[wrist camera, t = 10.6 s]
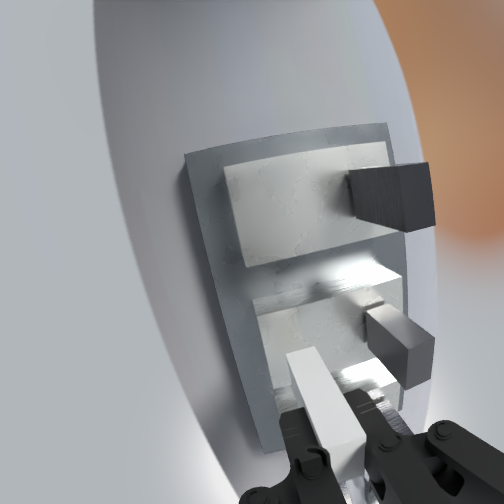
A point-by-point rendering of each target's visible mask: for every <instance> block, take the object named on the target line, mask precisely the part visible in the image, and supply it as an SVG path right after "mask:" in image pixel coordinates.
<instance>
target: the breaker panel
mask: <svg viewBox="0 0 504 504" xmlns="http://www.w3.org/2000/svg"><path fill="white" fill-rule="evenodd" d="M184 156H185V161H186V166H187V170H188V175H189V180H190V184H191V189H192V193H193V198H194V202H195V206H196V211H197V215H198V219H199V224H200V228H201V232H202V236H203V240H204V245H205V249H206V253H207V257H208V261H209V265H210V269H211V273H212V277H213V280H214V284H215V288H216V292H217V296H218V300H219V303H220V307H221V311H222V315H223V318H224V322H225V326H226V329H227V333H228V336H229V340H230V344H231V347H232V351H233V354H234V358H235V361H236V364H237V368H238V371H239V375H240V378H241V381H242V385H243V388H244V391H245V395H246V398H247V401H248V405H249V408H250V411H251V414H252V417H253V421H254V424H255V427H256V430H257V433H258V436H259V439H260V442H261V445H262V448H263V452H264V454H267V453H272V452H276V451H281V450H285V449H286V447H285V443H284V440H283V436H282V432H281V429H280V425H279V419H280V416H281V413H283V412H287V411H291V410H294V409H298V408H299V407H298V404H297V401H296V399H295V396H294V393H293V388H292V383H291V378H290V374H289V369H288V364H287V359H286V355H285V354H287V353H291V352H295V351H298V350H302V349H305V348H309V347H312V346H315V348H316V350H317V352H318V353H319V355H320V357H321V358H322V360H323V362H324V363H325V365H326V367H327V369H328V370H329V372H330V374H331V375H332V377H333V379H334V381H335V382H336V384H337V386H338V387H339V389H340V391H341V393H342V394H344V393H347V392H349V391H352V390H355V389H358V388H360V389H361V390H363V391H365V392H367V393H368V394H369V396H370V397H371V398H372V400H373V402H374V403H375V404H376V406H377V408H378V409H379V410H380V411H381V413H382V414H383V416H384V417H385V419H386V420H387V422H388V423H389V424H390V426H391V427H392V429H393V430H394V431H396V432H399V433H401V434H402V435H414V434H413V432H412V431H411V430H410V428H409V427H408V426H407V424H406V423H405V422H404V420H403V419H402V418H401V417H400V415H399V414H398V411H400V410H402V405H403V396H404V388H403V387H402V386H401V385H400V384H399V383H398V382H397V380H396V379H395V378H394V377H393V376H392V375H391V374H390V372H389V371H388V370H387V369H386V368H385V367H384V366H383V364H382V363H381V362H380V361H379V360H378V359H377V358H376V356H375V355H374V354H373V353H372V352H371V351H370V350H369V349H368V345H367V323H366V311H367V310H370V309H373V308H376V307H379V306H382V305H385V304H388V303H389V304H391V305H392V306H393V307H395V308H396V309H397V310H399V311H400V312H401V313H403V314H404V315H405V316H407V317H408V287H407V264H406V248H405V236H404V232H405V233H408V232H412V231H415V230H419V229H423V228H427V227H431V226H435V225H436V223H435V211H434V202H433V193H432V184H431V177H430V171H429V164H428V162H423V163H407V164H395V161H394V155H393V150H392V145H391V140H390V135H389V130H388V126H387V123H374V124H362V125H351V126H341V127H332V128H323V129H315V130H308V131H301V132H294V133H287V134H281V135H275V136H269V137H263V138H258V139H252V140H247V141H242V142H237V143H232V144H227V145H222V146H218V147H213V148H209V149H204V150H200V151H196V152H191V153H187V154H184Z"/></svg>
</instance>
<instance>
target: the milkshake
mask: <svg viewBox="0 0 504 504" xmlns="http://www.w3.org/2000/svg"><path fill="white" fill-rule="evenodd" d="M368 483H369V475H368V473H367V471H366V469H365V474H364V475H362V476H359V477H356V478H354V479H351V480H348V481H346V484H347V488H348V491H349V494H350V498H351V501H352V504H379V502H378V500H377V498H376V496H375V494H374V492H373V490H371V492H370V493H369V492H368Z"/></svg>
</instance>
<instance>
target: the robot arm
mask: <svg viewBox="0 0 504 504" xmlns="http://www.w3.org/2000/svg"><path fill="white" fill-rule="evenodd" d="M285 355H286V359H287V364H288V369H289V374H290V378H291V383H292V388H293V393H294V396H295V399H296V401H297V404H298V407H299V408H298V409H294V410H291V411H287V412H283V413H281V416H280V419H279V425H280V429H281V432H282V436H283V440H284V443H285V447H286V451H287V454H288V458H289V462H290V467H291V468H290V472H289V474H288V476H287V477H286V478H285V479H284V480H283V481H282V482H280V483H279V484H277V485H275V486H273V487H271V488H268V487H255V488H252V489H250V490H248V491H246V492H245V493H244V494H243V495H242V496H241V498H240V500H239V504H347V503H346V501H345V498H344V496H343V494H342V491H341V489H340V486H339V483H342V482H345V481H348V480H351V479H354V478H356V477H359V476H362V475H364V474H365V469H366V471H367V473H368V475H369V483H368V492H369V493H370V492H371V490H373V492H374V494H375V496H376V498H377V500H378V502H379V504H504V453H502V452H501V451H499V450H497V449H496V448H494V447H493V446H491V445H489V444H488V443H486V442H484V441H483V440H481V439H479V438H478V437H477V436H475V435H473V434H472V433H470V432H469V431H467V430H466V429H464V428H462V427H461V426H459V425H458V424H456V423H454V422H452V421H449V420H442V421H438V422H436V423H434V424H432V425H431V426H430V428H429V429H428V432H425V433H420V434H415V435H402V434H401V433H399V432H396V431H394V430H393V429H392V427H391V426H390V424H389V423H388V422H387V420H386V419H385V417H384V416H383V414H382V413H381V411H380V410H379V409H378V408H377V406H376V404H375V403H374V402H373V400H372V398H371V397H370V396H369V394H368V393H367V392H365V391H363V390H361V389H360V388H358V389H355V390H352V391H349V392H347V393H344V394H342V393H341V391H340V389H339V387H338V386H337V384H336V382H335V381H334V379H333V377H332V375H331V374H330V372H329V370H328V369H327V367H326V365H325V363H324V362H323V360H322V358H321V357H320V355H319V353H318V352H317V350H316V348H315V346H312V347H309V348H305V349H302V350H298V351H295V352H291V353H287V354H285Z"/></svg>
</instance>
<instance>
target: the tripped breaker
mask: <svg viewBox="0 0 504 504" xmlns="http://www.w3.org/2000/svg"><path fill="white" fill-rule="evenodd" d="M366 323H367V345H368V349H369V350H370V351H371V352H372V353H373V354H374V355H375V356H376V358H377V359H378V360H379V361H380V362H381V363H382V364H383V366H384V367H385V368H386V369H387V370H388V371H389V372H390V374H391V375H392V376H393V377H394V378H395V379H396V380H397V382H398V383H399V384H400V385H401V386H402V387H403V388H404V390H405V391H406V390H408V389H410V388H412V387H414V386H417V385H419V384H421V383H423V382H425V381H427V380H429V379H430V378H431V371H432V363H433V354H434V343H435V337H433V336H432V335H431V334H429V333H428V332H427V331H425V330H424V329H423V328H421V327H420V326H419V325H417V324H416V323H415V322H413V321H412V320H411V319H409V318H408V317H407V316H405V315H404V314H403V313H401V312H400V311H399V310H397V309H396V308H395V307H393V306H392V305H391V304H389V303H388V304H385V305H382V306H379V307H376V308H373V309H370V310H367V311H366Z"/></svg>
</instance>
